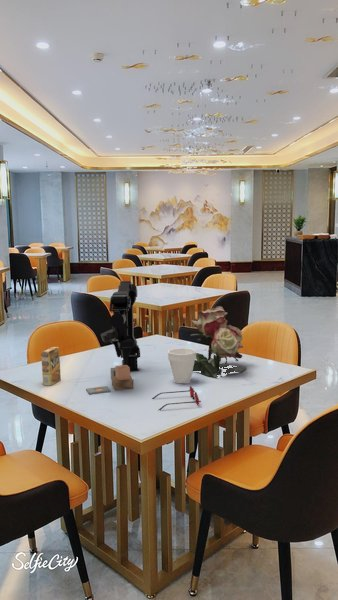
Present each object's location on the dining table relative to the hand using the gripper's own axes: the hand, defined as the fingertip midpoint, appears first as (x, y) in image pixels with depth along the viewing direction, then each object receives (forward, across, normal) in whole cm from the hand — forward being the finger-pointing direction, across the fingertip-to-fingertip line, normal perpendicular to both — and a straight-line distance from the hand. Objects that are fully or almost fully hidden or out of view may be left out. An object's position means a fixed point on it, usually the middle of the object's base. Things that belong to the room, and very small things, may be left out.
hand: (121, 359), depth 217 cm
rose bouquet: (+12, -7, +50) cm, 52 cm away
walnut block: (+12, 0, 0) cm, 12 cm away
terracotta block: (+8, 0, 0) cm, 8 cm away
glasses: (+12, +28, +13) cm, 33 cm away
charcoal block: (+12, -11, +1) cm, 16 cm away
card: (+12, +2, -11) cm, 16 cm away
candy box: (+12, -18, -27) cm, 35 cm away
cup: (+12, +4, +26) cm, 29 cm away
